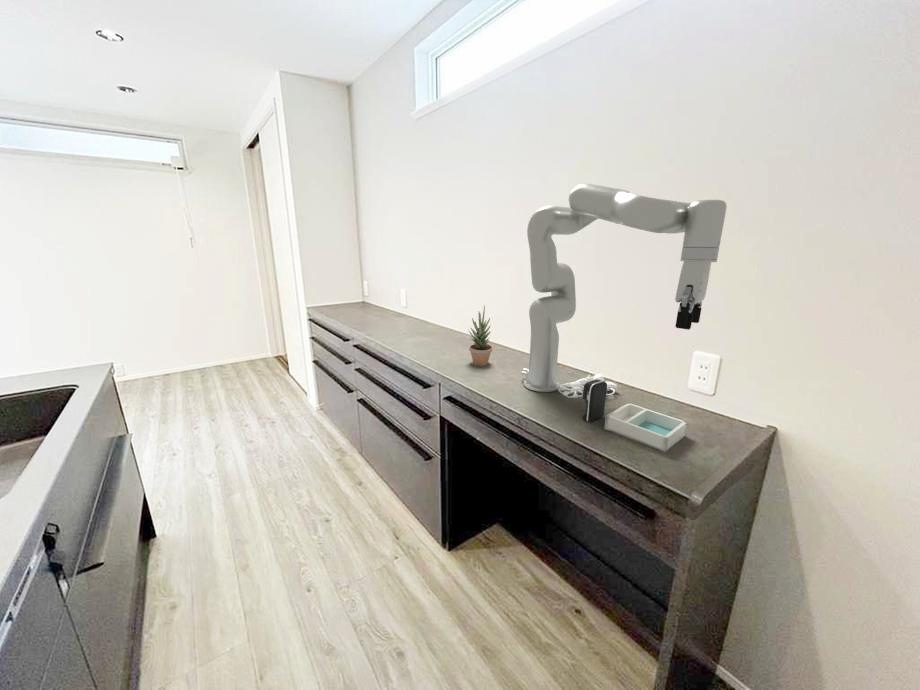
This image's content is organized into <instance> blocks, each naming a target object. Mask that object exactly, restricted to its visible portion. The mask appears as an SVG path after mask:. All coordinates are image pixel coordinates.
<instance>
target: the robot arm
mask: <svg viewBox="0 0 920 690" xmlns="http://www.w3.org/2000/svg"><path fill="white" fill-rule="evenodd" d="M727 208H728V207H727V203H726V202H725V200H722V199H699V200H695V201H693V202H682V201H677V200H675V201H674V200H667V199H662V198H656V197H648V196H643V195H638V194H633V193H630V191H629V190H627V189H621V188H617V187H615V188H614V187H609V186H603V185H597V184H591V183H581V184H578V185H576V186H575V187H573V189H571V191H570V193H569V195H568V206H560V205H558V206H557V205H546V206H543V207H541V208H539V209H537V210H536V211H535V212H534V213H533V214H532V216H531V217H530V219H529V221H528V224H527V229H526V230H527V231H526V232H527V233H526V234H527V241H528V248H529V255H530V256H529V259H530V260H529V261H530V274H531V285H532V289H534V290H535V291H536V292H538V293H541V294H543V293H544V294H545V293H546V294H547V293H550V294H551V295H548V296H543V297H539V298H537V299H535V300H534V301H533V302H532V303H531V305H530V307H529V311H528V313H529V314H528V316H529V323H530V324H529V325H530V345H529V346H530V347H529V362H528V368H525V367H524V368H522V371H521V372H520V375H522V376H525V379H524V380H523V386H524V387H525V388H527V389H528V390H531V391H535V392H539V393H550V392H555V391H559V388H560V385H561V383H560V382H559V381H558V380H557V372H558V371H557V368H558V359H559V357H558V356H559V355H558V354H559V346H560V345H559V343H560V334H559V331H558V327H557V324H560V323H564V322H568V321H570V320H571V319H572V318H573V317H574V315H575V313H576V310H577V309H576V308H577V301H576V299H577V298H576V279H575V274H574V271H573V269H572V268H571V266H569V265H568V264H566V263H564V262H558V257H557V248H556V244H555V242H554V240H553V237H552V236H553V235H556V236H557V235H558V236H559V235H561V236H563V235H564V236H565V235H566V236H568V235H570V236H571V235H574V234H575V233H578V232H579V231H581V230H583V229H584V228H586V227H587V226H590V225H591V224H592V223H594V222H595V221H596V220H603V221H605V222H610V223H614V224H615V225H616V224H618V225H622V226H626V227H629V228H634V229H636V230H641V231H645V232H649V233H654V234H680V233H682V234H684V237H683V241H682V249H681V253H680V254H681V255H680V262H683V263H682V266H681V270H680V274H679V278H678V279H679V280H678V284H677V289H676V293H675V299H674V301H675V302H676V303H679V306H678V310H677V315H676V320H675V321H676V322H675V328H676V329H683V330H691V328H692V323H694V324H698V323H699V322H700V320H701V313H702V305H703V301H704V299H705V298H706V294H707V289H708V284H709V278H710V273H711V266H712V263H717V262H718V257H719V252H720V245H721V240H722V235H723V230H724V229H723V228H724V224H725V218H726V212H727Z"/></svg>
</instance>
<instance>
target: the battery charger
mask: <svg viewBox="0 0 920 690" xmlns="http://www.w3.org/2000/svg"><path fill="white" fill-rule="evenodd" d="M606 382H607V381H605V380H604V381H601V380H593V379H592V380H591V381H588V382H587V383H586V384H585V385H584V388H582V389H583V390H582V392H583V397H581V398H582V400H584V402H585V413H584V415H582V419H583V420H584V421H586V422H589V423H590V422H594V421H597V420H599V419H601V418H603V417H604V414H605V407H606V399H607V395H606V394H608V391H607V383H606Z"/></svg>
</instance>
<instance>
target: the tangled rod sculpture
mask: <svg viewBox="0 0 920 690" xmlns="http://www.w3.org/2000/svg"><path fill="white" fill-rule="evenodd" d="M593 380H601V381H605V378H604V376H603V375H602V374H599V373H598V374H595V375H593V376H591V374H588V376H587V377H583V378H580V379H578V380H575V381H572V382H567V383H566V382H565V383H564V384H560V388H559V389H558V392H559V393H561V394H563V395H562V396H564V397H566V398H568V399H572V398H573V399H578V398H580V397H581V398H582V397H583V389H584V385H585V384H586V383H587V382H590V381H593ZM605 382H606V383H607V392H609V391H613V392H611V393H607V394H606V396H608V397H609V396H613V395H614V394H615V393H616V390H617V389H619V388H618V385H617V384H616V383H615V382H611V381H605ZM565 386H566V387H567V388H566V387H565ZM578 393H581V395H579V394H578ZM570 394H573V395H572V396H569V395H570Z"/></svg>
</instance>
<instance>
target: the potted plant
mask: <svg viewBox="0 0 920 690" xmlns="http://www.w3.org/2000/svg"><path fill="white" fill-rule="evenodd" d="M485 313H486V307H485V304H484V305H483V311H482V314H481V312H478V313H477V314H478V325H477V322H476V321H475V320H474V318H473V317H472V318H471V319H472V320H471V321H472V323H473V327H474V329H475V330H474V329H473V328H472V327H470V330H468V332H469V334H470V336H471V337H472V338H471V337H470V339H471V341H472V342H473V344H470V345H469V346H468V347H469V349H468V350H469V352H470V355H471V359H472V363H473V365H475V366H481V367H482V366H486V365H488V364H489V359H490V356H491V353H492V352H493V346H492V345H490V344H489V342H490V340H489V339H490V337H488V336H489V335H491V331H489V330H490V328H491V325H489V323H490V320H491V317H489V319H487V320H485ZM488 325H489V326H488Z"/></svg>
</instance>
